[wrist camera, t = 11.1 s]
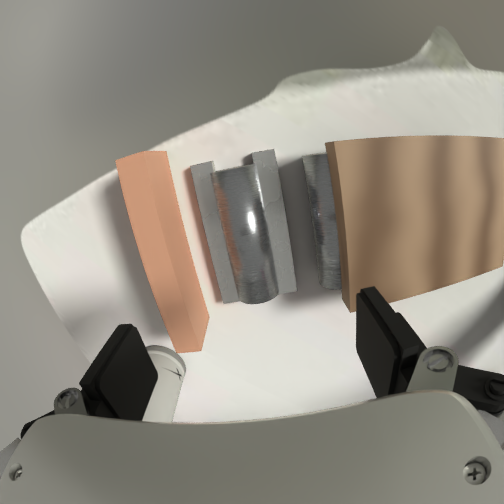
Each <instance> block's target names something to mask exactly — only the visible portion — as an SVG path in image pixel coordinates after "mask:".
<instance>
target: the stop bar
mask: <svg viewBox="0 0 504 504" xmlns="http://www.w3.org/2000/svg"><path fill="white" fill-rule="evenodd" d="M116 165H117V170H118V175H119V179H120V183H121V188H122V192H123V196H124V200H125V204H126V208H127V211H128V215H129V219H130V223H131V226H132V230H133V233H134V236H135V240H136V243H137V247H138V250H139V253H140V256H141V259H142V262H143V266H144V269H145V272H146V275H147V278H148V280H149V283H150V286H151V289H152V292H153V295H154V297H155V300H156V303H157V306H158V308H159V311H160V314H161V316H162V319H163V321H164V324H165V326H166V329H167V331H168V334H169V336H170V339H171V341H172V344H173V346H174V348H175V351H176V353H186V352H197V351H201V350H202V346H203V342H204V337H205V333H206V329H207V325H208V321H209V314H208V311H207V308H206V304H205V301H204V298H203V294H202V291H201V288H200V284H199V281H198V277H197V274H196V270H195V267H194V263H193V259H192V256H191V252H190V248H189V245H188V241H187V237H186V233H185V229H184V225H183V221H182V217H181V213H180V209H179V205H178V201H177V197H176V193H175V188H174V184H173V180H172V175H171V171H170V166H169V161H168V157H167V152H166V151H142V152H139V153H136V154H133V155H130V156H127V157H124V158H121V159H118V160H116Z"/></svg>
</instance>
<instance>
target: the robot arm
mask: <svg viewBox="0 0 504 504" xmlns="http://www.w3.org/2000/svg"><path fill="white" fill-rule="evenodd" d="M356 349H357V353H358V355H359V358H360V360H361V362H362V365H363V367H364V369H365V371H366V374H367V376H368V378H369V381H370V383H371V385H372V388H373V390H374V393H375V395H376V397H377V398H376V399H371V400H367V401H363V402H358V403H354V404H349V405H345V406H340V407H336V408H331V409H325V410H320V411H315V412H309V413H303V414H297V415H290V416H283V417H275V418H266V419H256V420H245V421H230V422H206V423H173V422H148V421H142V420H143V417H144V414H145V411H146V409H147V406H148V403H149V401H150V398H151V396H152V393H153V390H154V388H155V385H156V383H157V380H158V372H157V370H156V368H155V366H154V364H153V362H152V360H151V358H150V356H149V354H148V351H147V349H146V347H145V345H144V343H143V341H142V339H141V336H140V334H139V332H138V330H137V328H136V327H134V326H133V325H132V324H121V325H118V327H117V328H116V329H115V331H114V332H113V334H112V335H111V336H110V338H109V339H108V341H107V342H106V344H105V345H104V347H103V348H102V349H101V351H100V352H99V354H98V355H97V357H96V358H95V360H94V361H93V363H92V364H91V366H90V367H89V369H88V370H87V372H86V373H85V375H84V376H83V378H82V379H81V381H80V383H79V384H80V385H81V387H82V390H81V391H80V390H79V389H77V388H68V389H66V390H64V391H62V392H61V393H60V394H58V396H57V397H56V398H55V401H54V410H53V411H51V412H49V413H48V414H45V415H44V416H41V417H40V418H37V419H35V420H33V421H31V422H29V423H27V424H25V425H24V427H23V429H22V432H21V440H20V439H19V438H17V439H16V440H14V441H13V442H12V443H11V444H9V445H8V446H7V447H6V448H4V449H3V450H2V451H1V452H0V504H504V375H502V374H499V373H494V372H489V371H484V370H479V369H474V368H470V367H465V366H461V365H458V357H457V355H456V354H455V353H454V352H453V351H452V350H451V349H449V348H446V347H443V346H434V347H430V348H426V346H425V345H424V344H423V342H422V341H421V339H420V338H419V337H418V335H417V334H416V333H415V332H414V330H413V329H412V328H411V326H410V325H409V324H408V322H407V321H406V320H405V319H404V317H403V316H402V315H401V314H400V313H398V312H397V313H395V311H394V310H393V309H392V308H391V306H390V305H389V304H388V302H387V301H386V300H385V299H384V297H383V296H382V295H381V294H380V292H379V291H378V290H377V289H376V287H375V286H372V287H367V288H363V289H361V290H360V293H357V294H356Z"/></svg>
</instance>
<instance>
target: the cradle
mask: <svg viewBox="0 0 504 504" xmlns="http://www.w3.org/2000/svg"><path fill="white" fill-rule="evenodd" d="M252 157H253V163H254V164H256V166H257V171H258V176H259V181H260V187H261V192H262V197H263V203H264V208H265V213H266V219H267V224H268V230H269V235H270V241H271V247H272V252H273V258H274V264H275V269H276V275H277V281H278V287H279V293H278V295H279V294H285V293H290V292H296V291H297V286H296V279H295V272H294V265H293V258H292V251H291V245H290V238H289V232H288V226H287V219H286V213H285V207H284V201H283V196H282V190H281V184H280V178H279V173H278V167H277V162H276V157H275V151H274V149H271V150H265V151H259V152H254V153H252ZM190 168H191V173H192V177H193V182H194V186H195V191H196V195H197V200H198V204H199V208H200V213H201V217H202V221H203V225H204V229H205V234H206V238H207V242H208V246H209V250H210V254H211V258H212V262H213V266H214V269H215V273H216V277H217V281H218V285H219V289H220V292H221V296H222V300H223V303H224V304H225V303H231V302H238V301H240V300H239V298H238V294H237V290H236V286H235V282H234V278H233V273H232V269H231V265H230V261H229V256H228V252H227V248H226V243H225V239H224V235H223V230H222V226H221V221H220V217H219V212H218V208H217V203H216V199H215V194H214V189H213V185H212V180H211V175H210V173H212V172H215V167H214V162H213V161H210V162H205V163H201V164H197V165H193V166H190Z"/></svg>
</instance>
